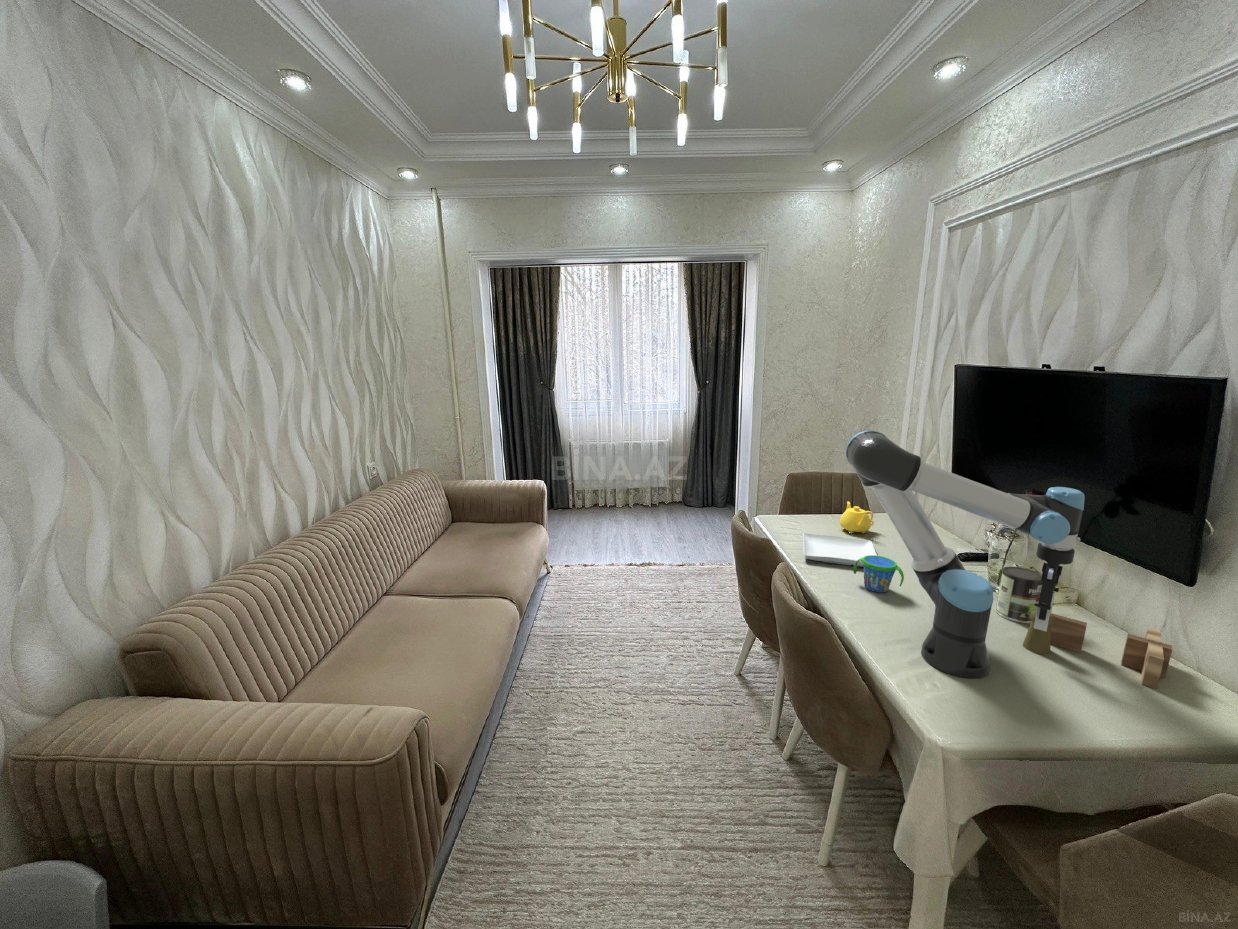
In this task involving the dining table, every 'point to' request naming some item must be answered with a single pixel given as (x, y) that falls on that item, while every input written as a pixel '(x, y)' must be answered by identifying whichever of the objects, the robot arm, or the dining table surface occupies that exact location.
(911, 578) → the dining table surface
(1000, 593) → the coffee can
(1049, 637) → the cork
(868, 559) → the snack cup
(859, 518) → the teapot
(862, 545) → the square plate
